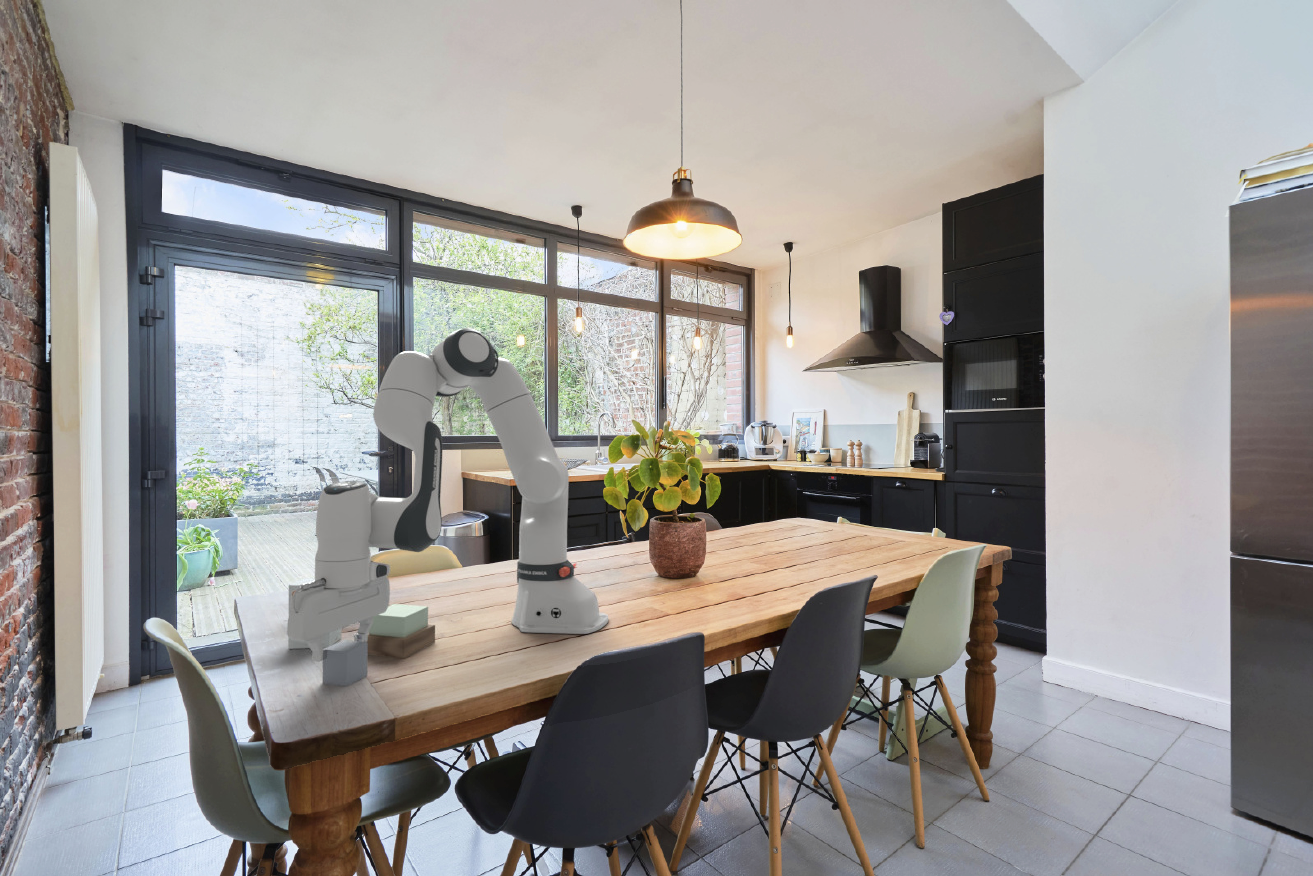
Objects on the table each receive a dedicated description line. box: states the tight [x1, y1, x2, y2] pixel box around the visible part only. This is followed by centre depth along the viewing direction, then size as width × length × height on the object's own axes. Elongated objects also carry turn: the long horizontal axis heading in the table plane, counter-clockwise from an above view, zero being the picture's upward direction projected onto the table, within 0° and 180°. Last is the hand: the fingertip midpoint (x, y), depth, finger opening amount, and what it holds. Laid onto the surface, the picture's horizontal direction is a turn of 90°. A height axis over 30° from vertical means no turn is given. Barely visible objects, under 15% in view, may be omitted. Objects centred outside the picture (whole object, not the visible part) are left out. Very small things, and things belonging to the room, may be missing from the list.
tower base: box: [366, 623, 436, 659], centre depth 126 cm, size 10×10×4 cm
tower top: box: [369, 603, 429, 638], centre depth 126 cm, size 8×8×4 cm
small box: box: [287, 578, 342, 650], centre depth 128 cm, size 8×6×13 cm
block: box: [322, 639, 368, 687], centre depth 109 cm, size 5×5×6 cm
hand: (341, 651), depth 110 cm, fingers open, 8 cm apart
